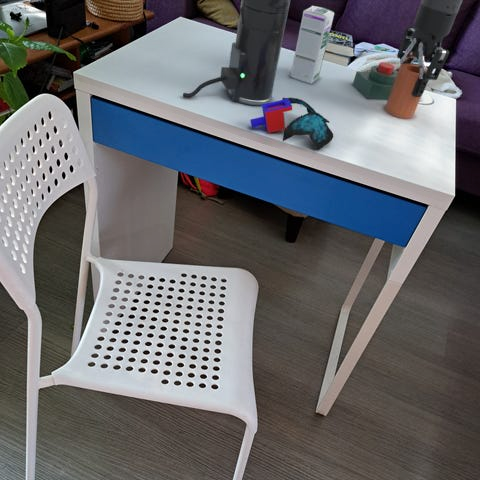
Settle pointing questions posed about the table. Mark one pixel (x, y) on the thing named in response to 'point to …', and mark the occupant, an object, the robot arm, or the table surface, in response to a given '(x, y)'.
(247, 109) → the table surface
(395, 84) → the jar
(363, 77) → the green button base
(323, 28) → the syrup box
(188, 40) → the table surface
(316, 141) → the butterfly
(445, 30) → the robot arm
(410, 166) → the table surface
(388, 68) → the button
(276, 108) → the toy building block
